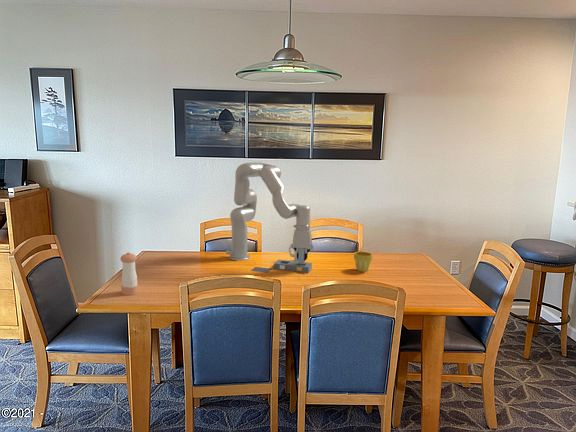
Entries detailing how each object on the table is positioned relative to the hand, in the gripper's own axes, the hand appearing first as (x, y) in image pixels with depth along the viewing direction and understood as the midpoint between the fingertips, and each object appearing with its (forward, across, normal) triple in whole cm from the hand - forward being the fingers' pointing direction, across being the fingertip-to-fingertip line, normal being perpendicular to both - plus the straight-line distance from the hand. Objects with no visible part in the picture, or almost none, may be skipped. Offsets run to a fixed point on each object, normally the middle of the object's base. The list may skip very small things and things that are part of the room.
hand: (301, 259), depth 235 cm
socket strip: (+6, -5, 0) cm, 8 cm away
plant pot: (+7, +33, +13) cm, 36 cm away
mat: (+6, -21, -8) cm, 24 cm away
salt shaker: (+6, -67, -62) cm, 92 cm away
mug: (+6, -7, +16) cm, 19 cm away
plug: (+2, 0, 0) cm, 2 cm away
